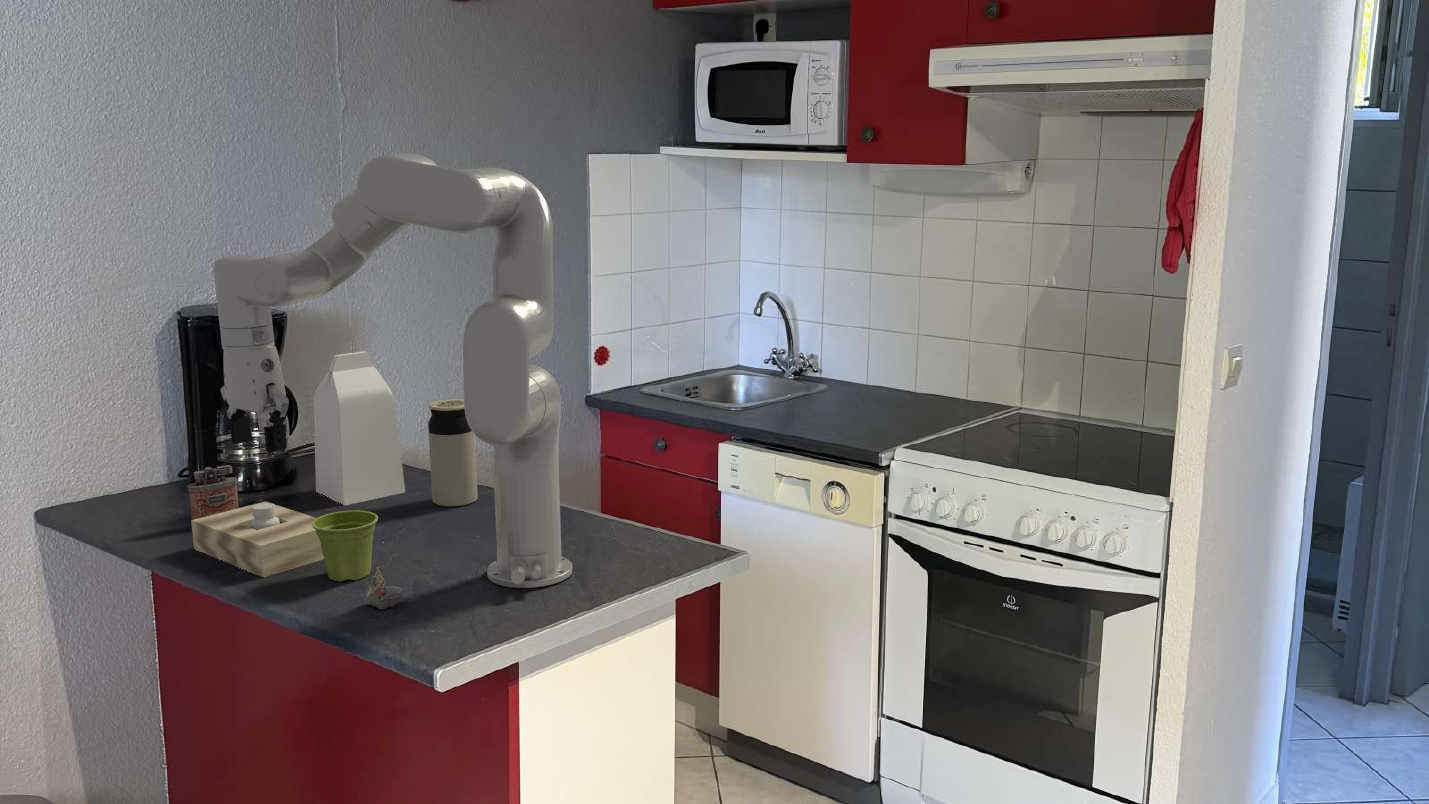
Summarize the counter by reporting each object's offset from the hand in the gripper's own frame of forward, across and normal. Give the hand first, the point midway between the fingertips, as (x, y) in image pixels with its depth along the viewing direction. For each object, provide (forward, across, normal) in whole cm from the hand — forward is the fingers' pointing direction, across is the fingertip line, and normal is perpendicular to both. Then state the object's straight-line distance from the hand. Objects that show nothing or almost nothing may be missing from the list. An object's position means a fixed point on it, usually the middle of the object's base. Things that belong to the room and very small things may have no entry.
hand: (259, 446), depth 191 cm
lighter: (+17, +20, -2) cm, 27 cm away
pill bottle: (+18, 0, 0) cm, 18 cm away
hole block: (+17, +1, 0) cm, 17 cm away
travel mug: (+18, -1, -36) cm, 41 cm away
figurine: (+18, -33, +2) cm, 37 cm away
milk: (+18, +18, -29) cm, 38 cm away
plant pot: (+18, -18, -2) cm, 26 cm away
